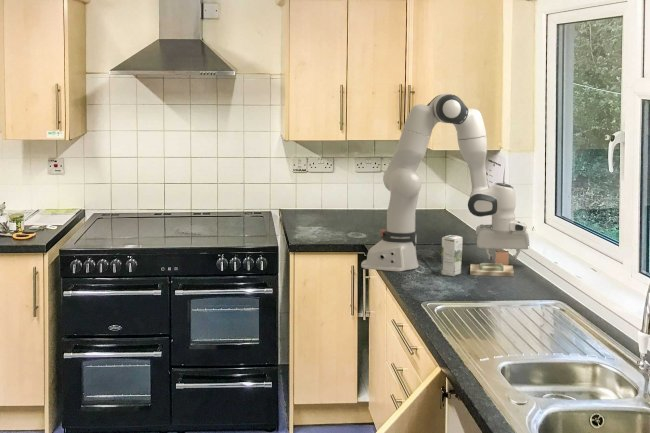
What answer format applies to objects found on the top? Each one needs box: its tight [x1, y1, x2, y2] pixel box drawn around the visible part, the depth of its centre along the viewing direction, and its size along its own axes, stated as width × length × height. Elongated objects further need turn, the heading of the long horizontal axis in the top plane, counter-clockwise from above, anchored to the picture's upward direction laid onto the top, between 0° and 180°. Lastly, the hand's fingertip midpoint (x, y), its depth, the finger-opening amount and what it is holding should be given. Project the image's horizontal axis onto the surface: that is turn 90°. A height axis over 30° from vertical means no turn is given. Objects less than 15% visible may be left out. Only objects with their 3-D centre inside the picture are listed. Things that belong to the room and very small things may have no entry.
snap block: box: [494, 249, 510, 265], centre depth 343 cm, size 5×5×6 cm
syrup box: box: [440, 234, 464, 277], centre depth 330 cm, size 6×6×14 cm
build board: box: [469, 262, 515, 278], centre depth 334 cm, size 16×12×2 cm
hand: (502, 259), depth 343 cm, fingers open, 8 cm apart
